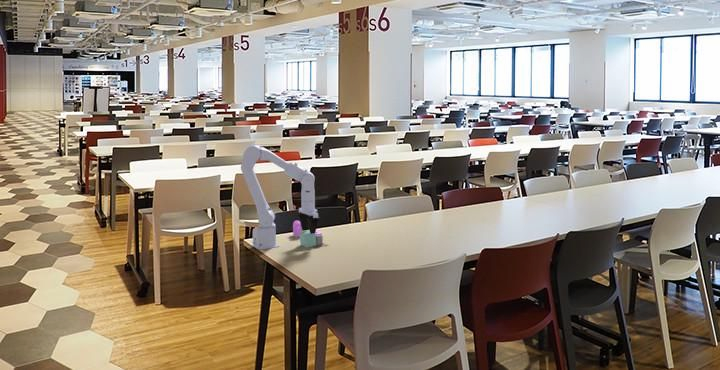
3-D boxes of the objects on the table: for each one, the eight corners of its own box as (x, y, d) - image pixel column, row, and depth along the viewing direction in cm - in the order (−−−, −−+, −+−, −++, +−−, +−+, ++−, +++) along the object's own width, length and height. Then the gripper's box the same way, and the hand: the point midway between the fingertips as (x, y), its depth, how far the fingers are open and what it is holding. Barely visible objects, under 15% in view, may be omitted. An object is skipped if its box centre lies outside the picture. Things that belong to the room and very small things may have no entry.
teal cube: (305, 247, 268) (304, 234, 267) (300, 245, 273) (299, 232, 272) (316, 245, 271) (315, 231, 270) (311, 243, 275) (310, 229, 274)
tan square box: (315, 248, 269) (315, 238, 268) (308, 244, 274) (308, 235, 273) (328, 246, 272) (328, 236, 271) (321, 243, 277) (321, 233, 277)
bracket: (295, 238, 287) (294, 223, 286) (293, 235, 292) (292, 220, 291) (323, 236, 290) (322, 221, 289) (320, 233, 296) (320, 219, 294)
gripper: (324, 202, 265) (324, 233, 267) (308, 197, 277) (309, 227, 279) (309, 203, 261) (309, 235, 263) (294, 198, 274) (294, 229, 276)
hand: (308, 231), depth 271 cm, fingers open, 7 cm apart
